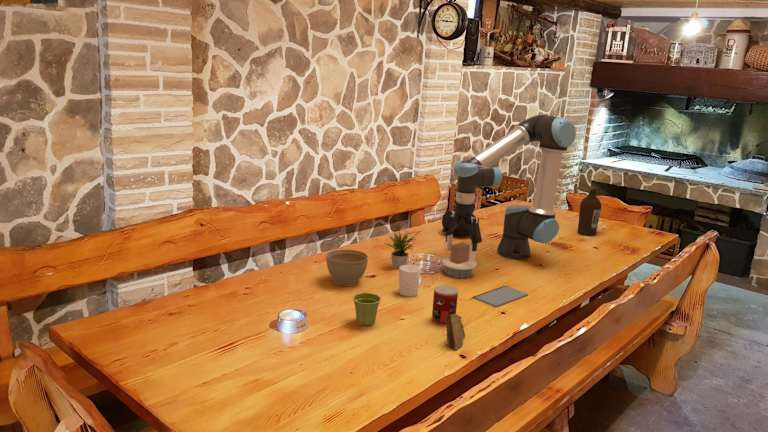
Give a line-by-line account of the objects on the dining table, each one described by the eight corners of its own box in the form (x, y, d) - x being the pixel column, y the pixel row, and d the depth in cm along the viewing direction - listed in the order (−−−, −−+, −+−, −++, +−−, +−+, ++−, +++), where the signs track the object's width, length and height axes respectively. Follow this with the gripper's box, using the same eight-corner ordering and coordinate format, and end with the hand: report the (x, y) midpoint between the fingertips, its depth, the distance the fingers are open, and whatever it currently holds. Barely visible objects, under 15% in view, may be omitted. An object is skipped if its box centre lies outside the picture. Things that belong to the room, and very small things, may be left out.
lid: (457, 256, 263) (459, 237, 261) (483, 265, 254) (485, 246, 251) (434, 262, 254) (436, 243, 252) (461, 272, 244) (463, 252, 242)
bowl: (456, 269, 263) (457, 257, 261) (477, 276, 255) (478, 265, 254) (439, 274, 255) (440, 262, 254) (459, 282, 248) (460, 270, 246)
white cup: (416, 298, 228) (418, 272, 226) (395, 295, 230) (397, 270, 227) (420, 291, 236) (422, 266, 233) (399, 288, 237) (401, 263, 235)
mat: (486, 279, 252) (486, 278, 252) (527, 295, 238) (528, 293, 238) (454, 290, 239) (454, 288, 239) (496, 307, 225) (496, 305, 225)
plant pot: (346, 324, 203) (347, 300, 201) (358, 314, 212) (359, 290, 210) (373, 330, 200) (374, 305, 198) (383, 319, 209) (385, 295, 206)
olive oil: (572, 232, 329) (579, 186, 323) (582, 229, 337) (589, 184, 330) (590, 237, 322) (598, 190, 316) (600, 234, 329) (607, 188, 323)
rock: (455, 324, 203) (433, 326, 197) (471, 310, 198) (448, 312, 192) (470, 353, 198) (447, 357, 192) (486, 339, 193) (463, 343, 186)
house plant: (413, 276, 250) (416, 238, 246) (379, 272, 253) (382, 234, 249) (418, 265, 264) (421, 228, 260) (386, 261, 266) (389, 225, 262)
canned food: (430, 314, 215) (432, 285, 212) (452, 315, 216) (455, 285, 213) (433, 324, 207) (436, 293, 205) (457, 324, 208) (460, 294, 205)
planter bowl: (372, 279, 245) (374, 252, 242) (357, 292, 230) (359, 265, 228) (335, 272, 250) (336, 246, 247) (318, 285, 235) (319, 258, 233)
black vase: (441, 228, 323) (446, 175, 316) (476, 231, 321) (481, 178, 313) (439, 238, 306) (444, 182, 298) (476, 241, 303) (482, 185, 296)
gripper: (436, 197, 253) (432, 248, 258) (482, 209, 236) (477, 264, 242) (448, 195, 258) (444, 245, 264) (494, 207, 241) (489, 260, 247)
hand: (460, 254), depth 253 cm, fingers open, 11 cm apart
